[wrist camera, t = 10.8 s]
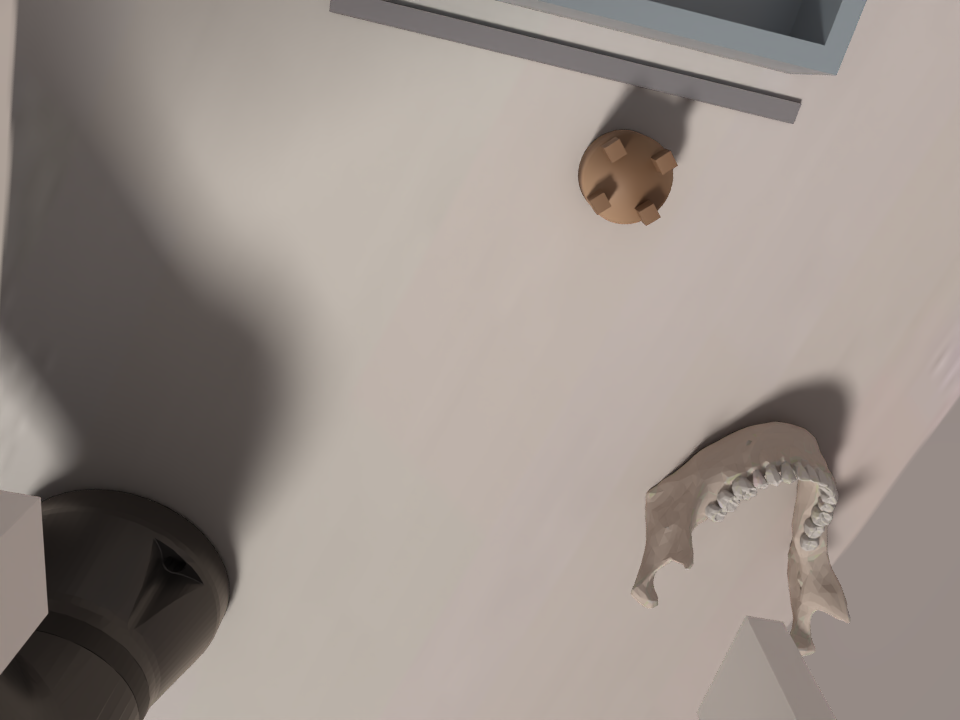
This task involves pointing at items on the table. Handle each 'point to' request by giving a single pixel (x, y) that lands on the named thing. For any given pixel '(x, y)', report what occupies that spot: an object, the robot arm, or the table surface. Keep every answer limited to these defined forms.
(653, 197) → the tan knobbed round piece
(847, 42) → the tray
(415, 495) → the table surface
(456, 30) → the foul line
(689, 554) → the anatomical model
